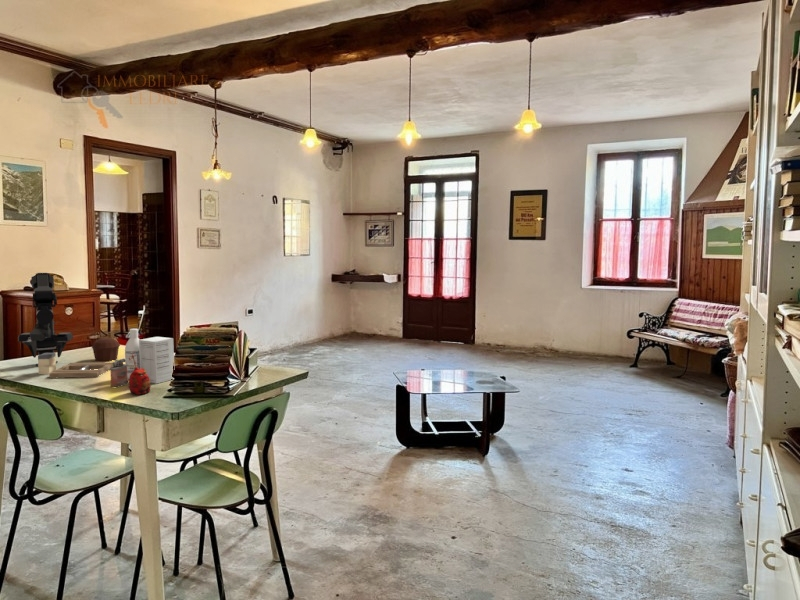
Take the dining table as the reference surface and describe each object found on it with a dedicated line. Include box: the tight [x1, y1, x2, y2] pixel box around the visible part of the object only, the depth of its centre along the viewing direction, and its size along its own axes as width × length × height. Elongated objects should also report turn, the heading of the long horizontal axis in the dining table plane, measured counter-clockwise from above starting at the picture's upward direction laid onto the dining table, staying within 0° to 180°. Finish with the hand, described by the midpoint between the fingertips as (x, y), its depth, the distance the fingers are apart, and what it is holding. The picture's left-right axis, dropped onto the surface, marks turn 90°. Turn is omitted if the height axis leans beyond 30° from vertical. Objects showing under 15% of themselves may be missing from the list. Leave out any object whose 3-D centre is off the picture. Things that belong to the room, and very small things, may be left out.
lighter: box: [109, 358, 129, 388], centre depth 210 cm, size 8×3×10 cm, turn 168°
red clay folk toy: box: [128, 353, 152, 396], centre depth 199 cm, size 8×7×15 cm
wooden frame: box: [49, 361, 114, 379], centre depth 229 cm, size 19×18×2 cm
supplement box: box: [139, 336, 175, 384], centre depth 218 cm, size 10×9×17 cm
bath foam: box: [124, 328, 141, 380], centre depth 221 cm, size 7×7×20 cm
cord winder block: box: [37, 352, 57, 375], centre depth 227 cm, size 6×4×8 cm, turn 8°
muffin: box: [91, 337, 121, 362], centre depth 254 cm, size 12×11×10 cm
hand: (46, 357), depth 227 cm, fingers open, 9 cm apart
